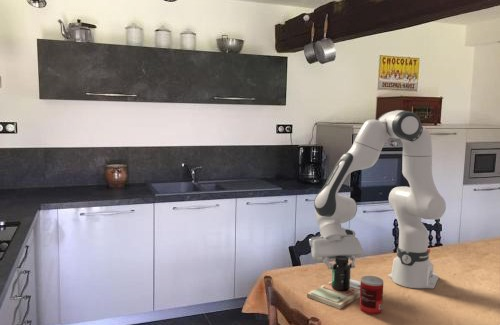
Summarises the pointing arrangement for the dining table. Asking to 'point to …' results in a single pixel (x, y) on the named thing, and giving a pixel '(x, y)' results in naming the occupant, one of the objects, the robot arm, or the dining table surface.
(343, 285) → the supplement bottle
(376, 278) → the canned food
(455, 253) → the dining table surface
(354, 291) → the tile board
